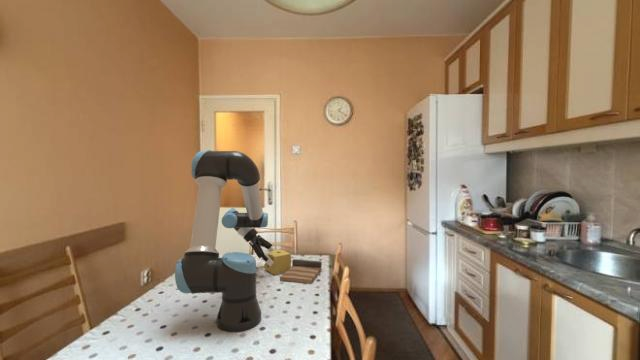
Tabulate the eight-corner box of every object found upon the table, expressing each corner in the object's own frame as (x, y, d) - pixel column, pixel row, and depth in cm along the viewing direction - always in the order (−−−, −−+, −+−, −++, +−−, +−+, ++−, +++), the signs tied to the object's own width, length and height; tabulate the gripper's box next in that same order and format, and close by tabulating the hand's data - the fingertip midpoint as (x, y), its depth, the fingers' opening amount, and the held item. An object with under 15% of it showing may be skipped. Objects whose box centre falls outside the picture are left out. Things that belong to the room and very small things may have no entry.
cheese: (264, 269, 156) (264, 251, 156) (281, 265, 163) (281, 248, 163) (274, 275, 148) (274, 256, 148) (291, 271, 155) (292, 253, 155)
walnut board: (311, 283, 137) (311, 273, 137) (279, 280, 141) (279, 270, 141) (321, 270, 157) (321, 261, 157) (293, 268, 161) (293, 259, 161)
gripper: (249, 232, 169) (275, 258, 168) (234, 242, 143) (264, 273, 143) (258, 223, 168) (284, 249, 168) (245, 232, 143) (275, 262, 142)
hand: (275, 260), depth 155 cm, fingers closed on cheese, 13 cm apart
